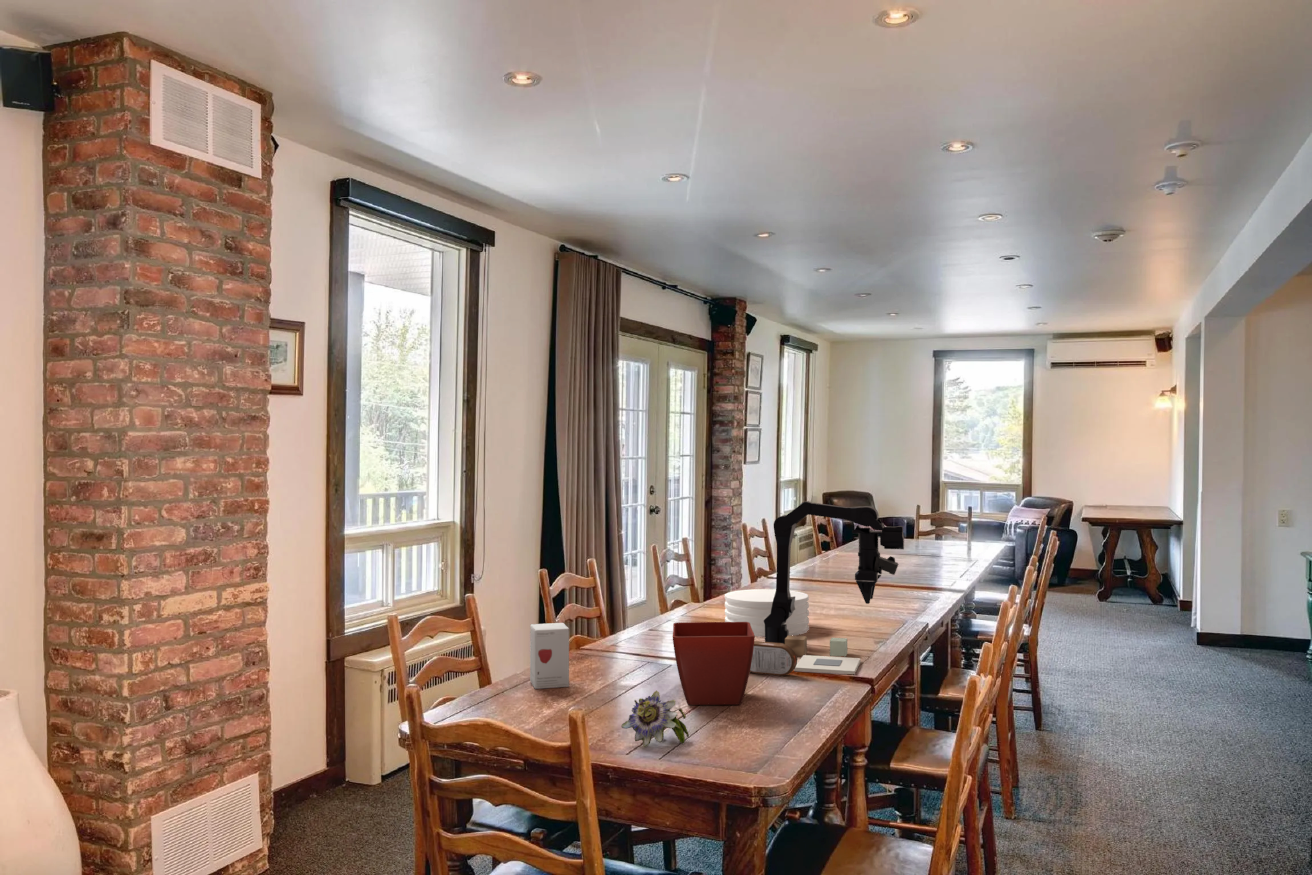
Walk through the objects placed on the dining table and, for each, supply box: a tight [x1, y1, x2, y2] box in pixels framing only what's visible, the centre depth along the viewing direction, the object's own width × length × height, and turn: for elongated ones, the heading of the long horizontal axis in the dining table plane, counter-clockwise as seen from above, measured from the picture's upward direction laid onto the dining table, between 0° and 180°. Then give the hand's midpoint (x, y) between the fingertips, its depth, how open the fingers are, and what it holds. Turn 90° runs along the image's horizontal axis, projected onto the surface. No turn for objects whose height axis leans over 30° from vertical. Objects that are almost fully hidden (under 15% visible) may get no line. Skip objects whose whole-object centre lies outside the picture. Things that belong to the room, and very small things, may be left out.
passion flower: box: [621, 690, 690, 748], centre depth 190 cm, size 11×11×12 cm
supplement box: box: [529, 622, 570, 690], centre depth 238 cm, size 9×9×15 cm
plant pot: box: [672, 621, 755, 706], centre depth 222 cm, size 19×19×17 cm
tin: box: [750, 640, 798, 677], centre depth 246 cm, size 15×3×8 cm, turn 65°
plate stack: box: [724, 588, 810, 638], centre depth 310 cm, size 28×28×12 cm
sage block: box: [829, 637, 848, 658], centre depth 269 cm, size 4×4×4 cm
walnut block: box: [785, 635, 808, 658], centre depth 270 cm, size 6×6×5 cm
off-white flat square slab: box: [793, 654, 861, 676], centre depth 254 cm, size 16×16×1 cm
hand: (869, 601), depth 275 cm, fingers open, 9 cm apart
